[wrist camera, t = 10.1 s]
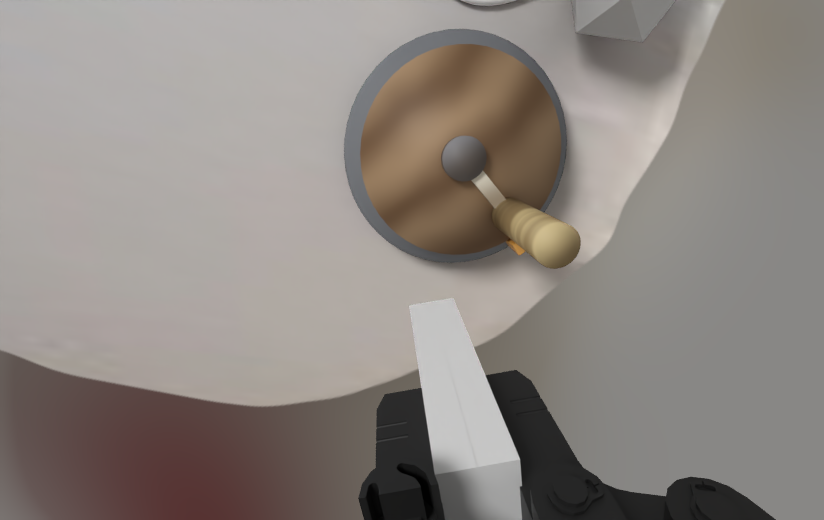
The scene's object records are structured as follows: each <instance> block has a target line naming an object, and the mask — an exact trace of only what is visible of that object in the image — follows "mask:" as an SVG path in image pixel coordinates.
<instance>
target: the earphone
mask: <svg viewBox="0 0 824 520" xmlns="http://www.w3.org/2000/svg"><path fill="white" fill-rule="evenodd" d="M461 1H463V2H466V3H469V4H473V5H479V6H494V5H501V4H506V3H510V2H513V1H516V0H461Z"/></svg>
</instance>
